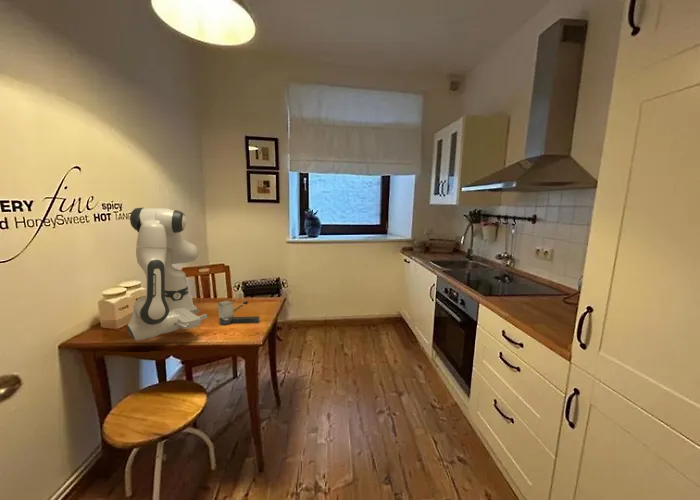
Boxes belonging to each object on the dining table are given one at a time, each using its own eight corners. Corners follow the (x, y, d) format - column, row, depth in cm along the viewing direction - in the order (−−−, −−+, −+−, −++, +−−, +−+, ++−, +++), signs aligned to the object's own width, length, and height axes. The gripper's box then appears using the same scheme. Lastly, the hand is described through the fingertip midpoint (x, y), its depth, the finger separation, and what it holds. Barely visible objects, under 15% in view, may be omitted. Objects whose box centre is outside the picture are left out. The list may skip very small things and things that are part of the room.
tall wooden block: (219, 317, 159) (217, 302, 158) (228, 314, 163) (227, 300, 162) (223, 320, 156) (222, 305, 155) (233, 317, 160) (232, 302, 158)
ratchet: (217, 325, 157) (216, 313, 155) (222, 320, 164) (221, 308, 162) (257, 324, 158) (256, 312, 156) (260, 319, 164) (259, 307, 163)
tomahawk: (234, 318, 168) (234, 316, 168) (223, 316, 170) (223, 314, 170) (254, 304, 188) (254, 302, 188) (245, 302, 190) (245, 300, 190)
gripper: (179, 321, 132) (211, 312, 143) (162, 309, 146) (193, 302, 156) (180, 335, 134) (212, 325, 144) (164, 322, 147) (194, 313, 157)
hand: (202, 312), depth 150 cm, fingers open, 8 cm apart
